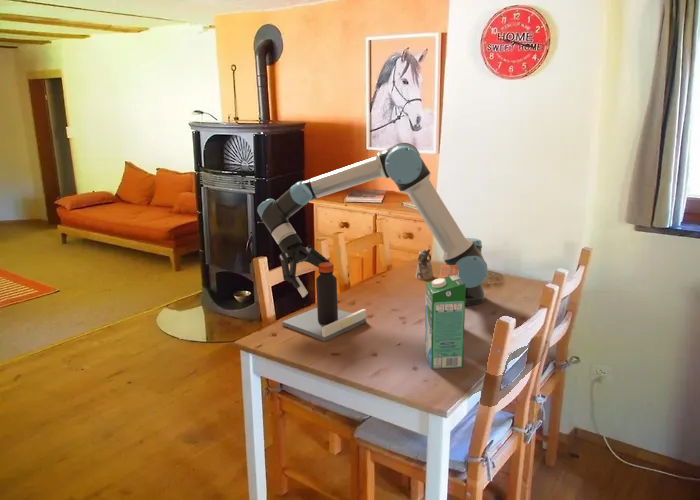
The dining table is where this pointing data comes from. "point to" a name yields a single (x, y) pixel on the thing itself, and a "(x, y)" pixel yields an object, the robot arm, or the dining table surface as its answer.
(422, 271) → the figurine
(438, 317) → the milk carton
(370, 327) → the dining table surface
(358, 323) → the grey flat square slab
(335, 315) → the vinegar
